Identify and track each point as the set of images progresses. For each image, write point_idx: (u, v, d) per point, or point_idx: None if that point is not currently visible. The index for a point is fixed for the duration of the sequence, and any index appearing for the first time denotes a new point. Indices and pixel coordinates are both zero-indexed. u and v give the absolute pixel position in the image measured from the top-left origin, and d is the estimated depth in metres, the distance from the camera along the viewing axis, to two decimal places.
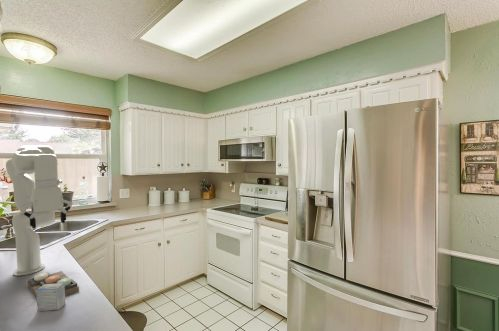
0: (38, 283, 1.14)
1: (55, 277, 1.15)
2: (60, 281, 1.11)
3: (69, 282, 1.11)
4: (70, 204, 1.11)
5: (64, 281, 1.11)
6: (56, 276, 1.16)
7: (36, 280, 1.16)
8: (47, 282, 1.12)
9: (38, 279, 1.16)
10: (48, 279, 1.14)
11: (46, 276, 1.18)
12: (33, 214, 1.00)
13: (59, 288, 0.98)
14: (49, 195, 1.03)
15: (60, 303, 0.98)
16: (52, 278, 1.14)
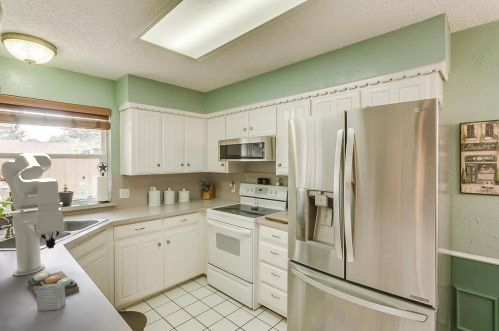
0: (38, 283, 1.14)
1: (55, 277, 1.15)
2: (60, 281, 1.11)
3: (69, 282, 1.11)
4: (61, 231, 1.17)
5: (64, 281, 1.11)
6: (56, 276, 1.16)
7: (36, 280, 1.16)
8: (47, 282, 1.12)
9: (38, 279, 1.16)
10: (48, 279, 1.14)
11: (46, 276, 1.18)
12: None
13: (59, 288, 0.98)
14: (51, 218, 1.13)
15: (60, 303, 0.98)
16: (52, 278, 1.14)
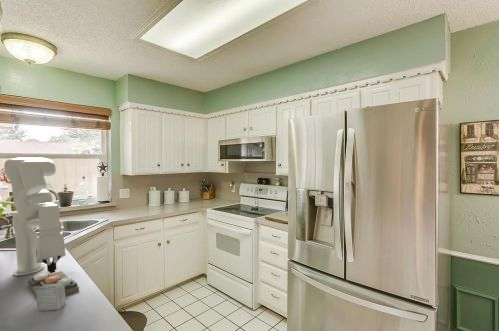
0: (38, 283, 1.14)
1: (55, 277, 1.15)
2: (60, 281, 1.11)
3: (69, 282, 1.11)
4: (62, 255, 1.17)
5: (64, 281, 1.11)
6: (56, 276, 1.16)
7: (36, 280, 1.16)
8: (47, 282, 1.12)
9: (38, 279, 1.16)
10: (48, 279, 1.14)
11: (46, 276, 1.18)
12: None
13: (59, 288, 0.98)
14: (52, 243, 1.13)
15: (60, 303, 0.98)
16: (52, 278, 1.14)
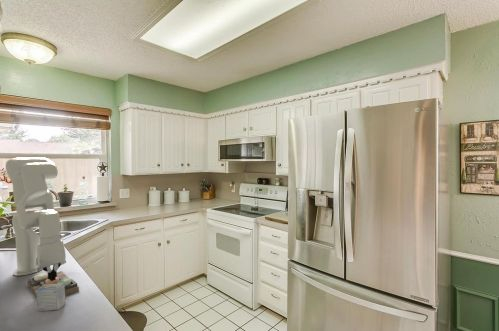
0: (38, 283, 1.14)
1: None
2: (60, 281, 1.11)
3: (69, 282, 1.11)
4: (63, 262, 1.17)
5: (64, 281, 1.11)
6: (57, 278, 1.16)
7: (36, 280, 1.16)
8: None
9: (38, 279, 1.16)
10: (48, 280, 1.14)
11: (46, 276, 1.18)
12: None
13: (59, 288, 0.98)
14: (52, 250, 1.13)
15: (60, 303, 0.98)
16: None
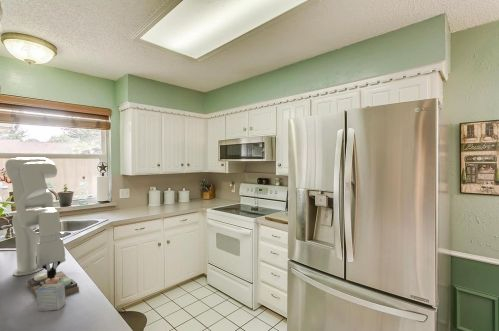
0: (38, 283, 1.14)
1: (55, 279, 1.15)
2: (60, 281, 1.11)
3: (69, 282, 1.11)
4: (62, 261, 1.18)
5: (64, 281, 1.11)
6: (57, 278, 1.16)
7: (36, 280, 1.16)
8: None
9: (38, 279, 1.16)
10: (48, 280, 1.14)
11: (46, 276, 1.18)
12: None
13: (59, 288, 0.98)
14: (52, 249, 1.13)
15: (60, 303, 0.98)
16: (52, 280, 1.14)
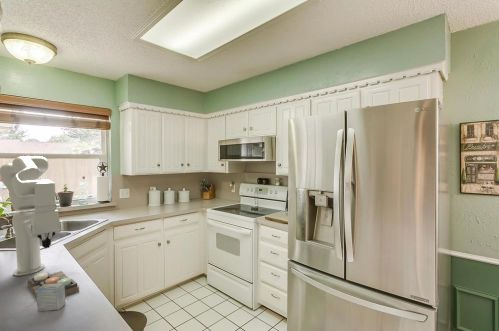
0: (38, 283, 1.14)
1: (55, 279, 1.15)
2: (60, 281, 1.11)
3: (69, 282, 1.11)
4: (57, 232, 1.20)
5: (64, 281, 1.11)
6: (57, 278, 1.16)
7: (36, 280, 1.16)
8: None
9: (38, 279, 1.16)
10: (48, 280, 1.14)
11: (46, 276, 1.18)
12: None
13: (59, 288, 0.98)
14: (47, 219, 1.16)
15: (60, 303, 0.98)
16: (52, 280, 1.14)
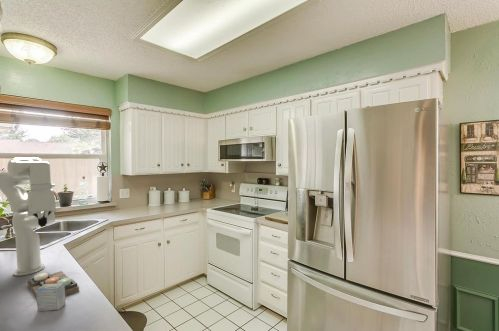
0: (38, 283, 1.14)
1: (55, 279, 1.15)
2: (60, 281, 1.11)
3: (69, 282, 1.11)
4: (53, 211, 1.23)
5: (64, 281, 1.11)
6: (57, 278, 1.16)
7: (36, 280, 1.16)
8: None
9: (38, 279, 1.16)
10: (48, 280, 1.14)
11: (46, 276, 1.18)
12: (41, 215, 1.19)
13: (59, 288, 0.98)
14: (43, 197, 1.18)
15: (60, 303, 0.98)
16: (52, 280, 1.14)
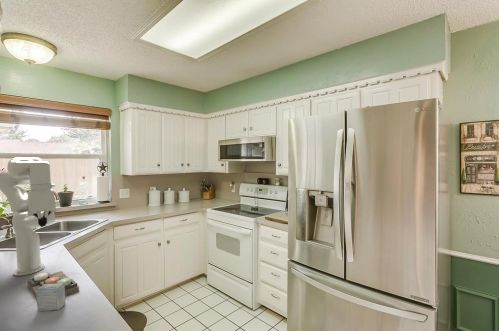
0: (38, 283, 1.14)
1: (55, 279, 1.15)
2: (60, 281, 1.11)
3: (69, 282, 1.11)
4: (53, 211, 1.23)
5: (64, 281, 1.11)
6: (57, 278, 1.16)
7: (36, 280, 1.16)
8: None
9: (38, 279, 1.16)
10: (48, 280, 1.14)
11: (46, 276, 1.18)
12: (41, 215, 1.19)
13: (59, 288, 0.98)
14: (43, 197, 1.18)
15: (60, 303, 0.98)
16: (52, 280, 1.14)
